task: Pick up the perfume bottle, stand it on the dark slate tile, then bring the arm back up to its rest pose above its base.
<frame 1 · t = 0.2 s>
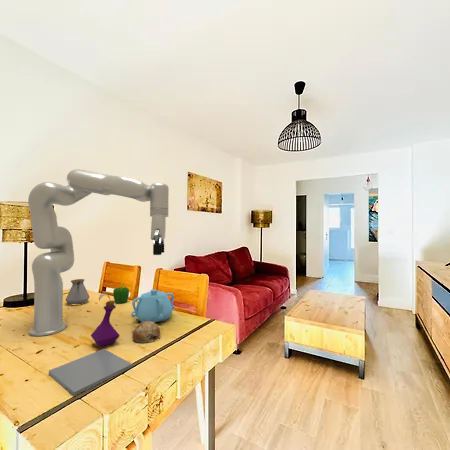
hand: (158, 253, 104), 31 cm above the table, tool pointing down, fingers open, 9 cm apart
perfume bottle: (105, 344, 89), on the table
slate tile: (91, 370, 72), on the table
decorative pot: (153, 320, 113), on the table
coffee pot: (77, 306, 134), on the table
bell pepper: (121, 302, 140), on the table
bread roll: (145, 338, 94), on the table
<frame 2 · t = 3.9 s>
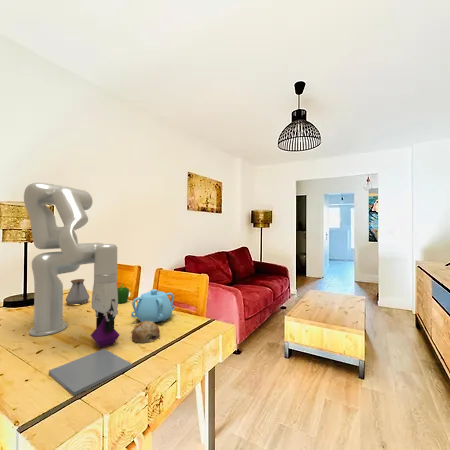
hand: (105, 328, 89), 5 cm above the table, tool pointing down, fingers closed on perfume bottle, 5 cm apart
perfume bottle: (105, 344, 89), on the table, touching gripper
everything else where it was.
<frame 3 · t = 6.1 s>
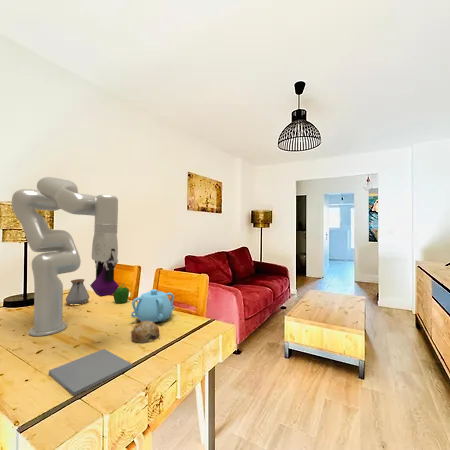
hand: (104, 279, 89), 23 cm above the table, tool pointing down, fingers closed on perfume bottle, 5 cm apart
perfume bottle: (104, 295, 89), point 17 cm above the table, touching gripper
everything else where it was.
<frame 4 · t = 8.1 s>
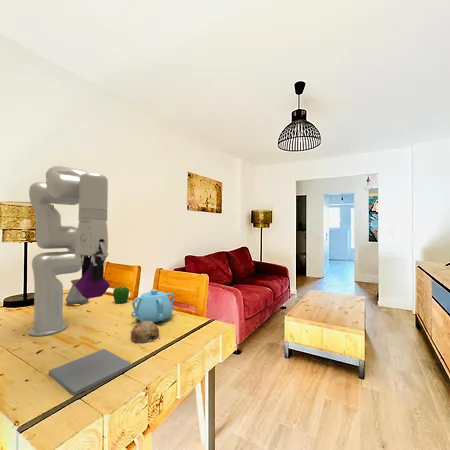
hand: (92, 277, 73), 27 cm above the table, tool pointing down, fingers closed on perfume bottle, 5 cm apart
perfume bottle: (92, 296, 73), point 21 cm above the table, touching gripper
everything else where it was.
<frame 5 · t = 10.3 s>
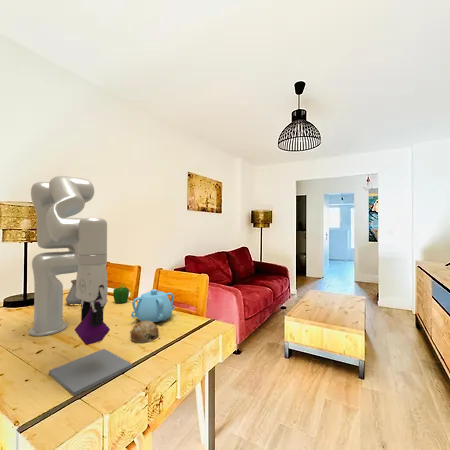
hand: (92, 322, 72), 14 cm above the table, tool pointing down, fingers closed on perfume bottle, 5 cm apart
perfume bottle: (92, 341, 72), point 8 cm above the table, touching gripper
everything else where it was.
when the fingers open (7 cm above the table, at t = 12.2 s): perfume bottle stays where it is, resting on slate tile.
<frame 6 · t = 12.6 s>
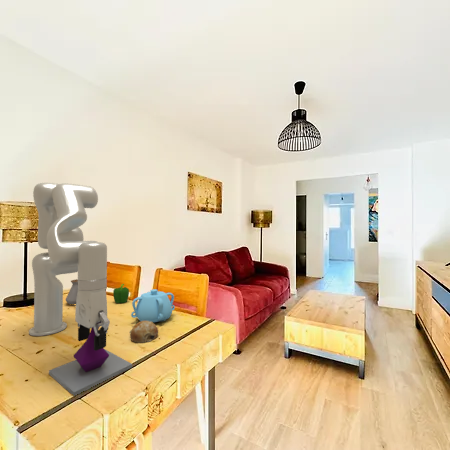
hand: (91, 343, 72), 8 cm above the table, tool pointing down, fingers open, 9 cm apart
perfume bottle: (91, 367, 72), point 1 cm above the table, touching slate tile
everything else where it was.
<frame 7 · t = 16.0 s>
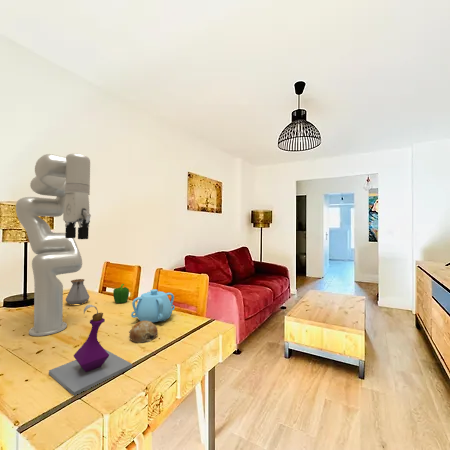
hand: (76, 238, 88), 38 cm above the table, tool pointing down, fingers open, 9 cm apart
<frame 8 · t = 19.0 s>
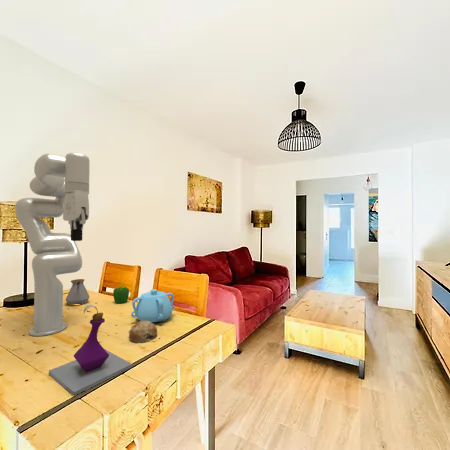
hand: (76, 240, 88), 37 cm above the table, tool pointing down, fingers closed
at the end: perfume bottle inside the target area on the slate tile (0.2 cm from its centre), point 0.8 cm above the slate tile's base; perfume bottle tilted 0°; the gripper is holding nothing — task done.
